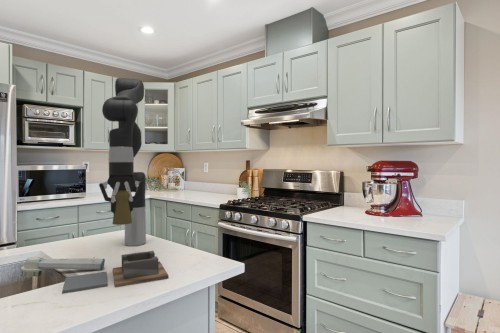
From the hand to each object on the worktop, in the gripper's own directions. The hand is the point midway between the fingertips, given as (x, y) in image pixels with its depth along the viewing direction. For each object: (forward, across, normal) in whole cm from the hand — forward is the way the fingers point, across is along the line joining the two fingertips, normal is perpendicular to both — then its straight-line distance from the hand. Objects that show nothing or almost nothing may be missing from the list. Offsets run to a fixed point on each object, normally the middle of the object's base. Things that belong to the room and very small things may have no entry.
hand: (122, 213), depth 103 cm
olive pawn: (+3, 0, 0) cm, 3 cm away
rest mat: (+21, +11, 0) cm, 24 cm away
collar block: (+21, -5, 0) cm, 22 cm away
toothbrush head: (+22, +18, -15) cm, 31 cm away
